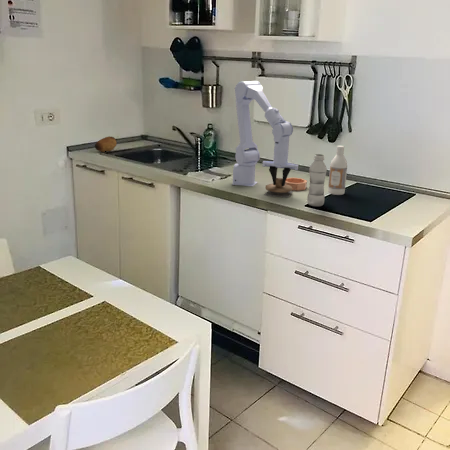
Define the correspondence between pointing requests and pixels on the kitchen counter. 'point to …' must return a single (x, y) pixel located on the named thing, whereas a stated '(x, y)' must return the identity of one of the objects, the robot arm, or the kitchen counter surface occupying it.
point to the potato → (106, 144)
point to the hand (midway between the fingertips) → (279, 185)
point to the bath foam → (338, 173)
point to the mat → (278, 194)
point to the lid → (278, 186)
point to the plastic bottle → (317, 181)
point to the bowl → (296, 183)
